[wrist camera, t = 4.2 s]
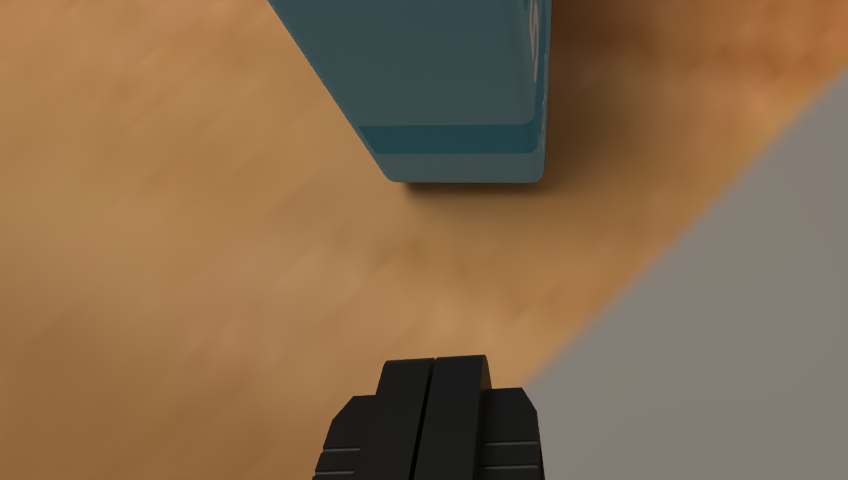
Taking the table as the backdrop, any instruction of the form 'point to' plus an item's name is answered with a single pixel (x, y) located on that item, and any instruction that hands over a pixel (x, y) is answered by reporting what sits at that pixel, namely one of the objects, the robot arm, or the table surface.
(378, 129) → the data package
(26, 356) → the table surface
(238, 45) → the table surface
